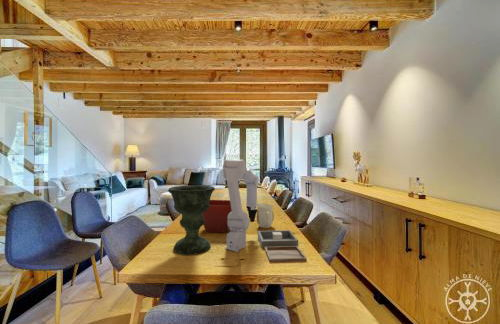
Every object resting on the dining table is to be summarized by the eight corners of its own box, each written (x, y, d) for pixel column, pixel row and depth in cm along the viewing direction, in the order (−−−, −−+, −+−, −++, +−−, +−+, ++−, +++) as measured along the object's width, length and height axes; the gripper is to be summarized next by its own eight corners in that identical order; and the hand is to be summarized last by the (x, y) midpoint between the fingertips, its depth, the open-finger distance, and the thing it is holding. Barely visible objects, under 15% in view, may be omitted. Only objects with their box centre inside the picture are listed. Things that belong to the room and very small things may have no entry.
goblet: (222, 244, 141) (222, 186, 140) (199, 259, 120) (198, 191, 119) (187, 239, 149) (186, 184, 149) (158, 252, 128) (158, 189, 128)
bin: (298, 248, 135) (298, 240, 135) (261, 249, 133) (261, 241, 133) (290, 237, 153) (290, 230, 153) (257, 238, 151) (257, 230, 151)
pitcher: (259, 231, 165) (259, 208, 165) (254, 223, 183) (254, 203, 182) (277, 230, 167) (277, 208, 166) (270, 223, 184) (270, 202, 184)
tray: (306, 262, 117) (306, 258, 117) (269, 264, 116) (269, 259, 115) (297, 249, 133) (297, 245, 133) (264, 250, 131) (264, 246, 131)
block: (282, 243, 141) (282, 234, 141) (273, 243, 141) (273, 234, 140) (280, 240, 145) (280, 232, 145) (272, 240, 145) (272, 232, 145)
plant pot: (236, 226, 177) (236, 200, 177) (231, 234, 158) (231, 205, 158) (207, 225, 179) (207, 199, 179) (198, 233, 160) (198, 204, 160)
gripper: (260, 197, 146) (260, 223, 146) (257, 194, 161) (257, 217, 161) (247, 198, 146) (247, 223, 146) (245, 194, 160) (245, 217, 160)
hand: (251, 220), depth 153 cm, fingers open, 7 cm apart
